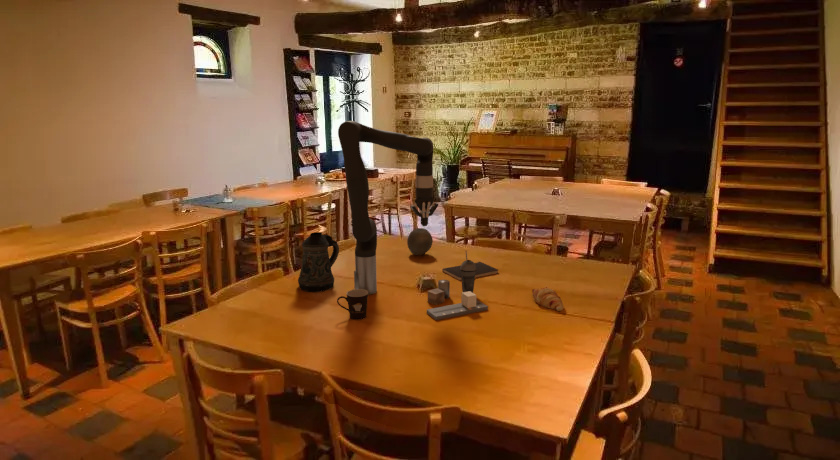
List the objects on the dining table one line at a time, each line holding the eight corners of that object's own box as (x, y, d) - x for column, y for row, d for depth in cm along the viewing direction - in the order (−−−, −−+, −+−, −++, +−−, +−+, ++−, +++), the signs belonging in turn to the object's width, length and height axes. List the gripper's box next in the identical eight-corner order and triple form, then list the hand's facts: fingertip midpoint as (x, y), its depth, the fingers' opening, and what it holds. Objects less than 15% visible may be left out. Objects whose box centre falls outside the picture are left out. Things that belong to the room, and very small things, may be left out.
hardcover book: (498, 274, 262) (498, 269, 261) (459, 281, 251) (459, 277, 250) (479, 265, 275) (480, 261, 275) (442, 272, 264) (442, 268, 264)
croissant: (567, 319, 215) (576, 302, 214) (549, 312, 210) (558, 294, 210) (537, 300, 234) (545, 284, 233) (520, 293, 229) (529, 277, 229)
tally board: (435, 320, 205) (435, 316, 205) (426, 313, 212) (426, 309, 212) (487, 309, 216) (487, 306, 215) (477, 303, 223) (477, 299, 222)
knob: (467, 308, 213) (467, 296, 212) (461, 304, 217) (461, 292, 216) (476, 306, 215) (476, 294, 213) (469, 302, 219) (469, 291, 218)
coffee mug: (372, 314, 212) (372, 290, 209) (363, 322, 204) (362, 298, 201) (346, 310, 215) (345, 287, 213) (336, 318, 207) (335, 294, 205)
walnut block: (435, 305, 221) (435, 294, 220) (427, 302, 224) (427, 291, 223) (444, 302, 224) (444, 291, 223) (436, 299, 228) (436, 288, 226)
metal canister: (441, 299, 227) (441, 284, 225) (436, 295, 231) (436, 280, 230) (451, 297, 229) (451, 282, 227) (445, 294, 233) (446, 279, 232)
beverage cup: (475, 297, 229) (476, 253, 224) (458, 296, 230) (459, 252, 226) (476, 291, 236) (477, 248, 231) (460, 290, 237) (461, 248, 233)
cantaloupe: (405, 258, 287) (404, 231, 283) (409, 251, 300) (409, 225, 297) (430, 259, 284) (430, 232, 281) (434, 252, 298) (434, 226, 294)
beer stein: (291, 289, 239) (287, 236, 233) (314, 276, 257) (312, 226, 251) (322, 294, 233) (319, 239, 227) (344, 280, 251) (342, 229, 245)
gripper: (434, 183, 228) (433, 222, 232) (406, 185, 223) (406, 225, 227) (442, 186, 222) (442, 226, 226) (414, 188, 216) (414, 229, 220)
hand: (424, 225), depth 226 cm, fingers closed
